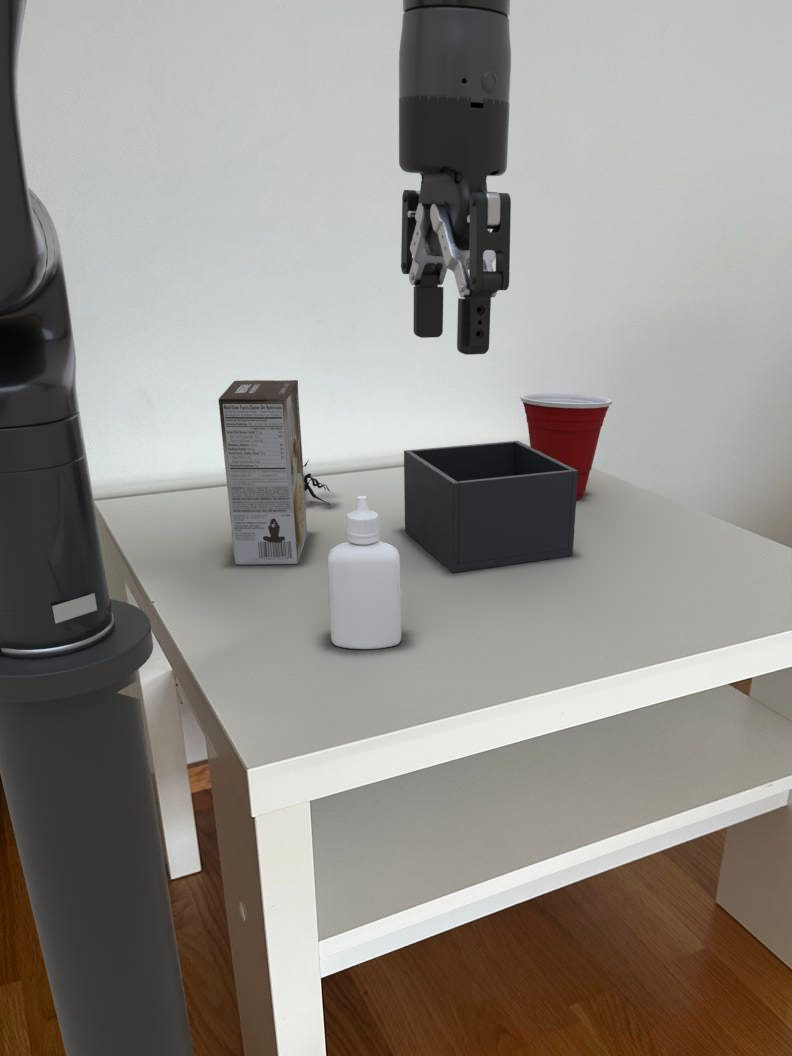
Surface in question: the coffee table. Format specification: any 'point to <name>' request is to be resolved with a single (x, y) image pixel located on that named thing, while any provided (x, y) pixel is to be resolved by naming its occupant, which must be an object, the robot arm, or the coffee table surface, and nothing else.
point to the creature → (306, 485)
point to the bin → (489, 504)
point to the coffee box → (264, 470)
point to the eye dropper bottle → (364, 585)
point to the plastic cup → (566, 429)
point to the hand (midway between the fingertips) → (449, 344)
